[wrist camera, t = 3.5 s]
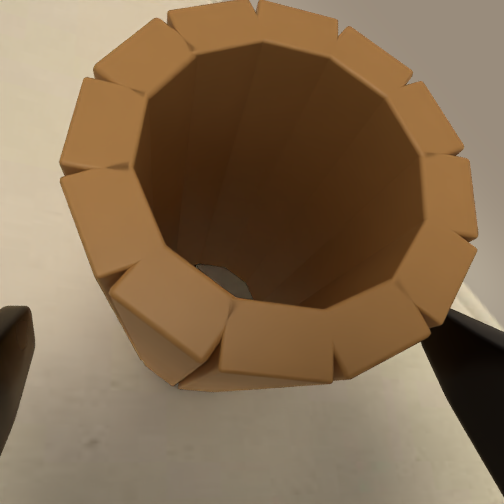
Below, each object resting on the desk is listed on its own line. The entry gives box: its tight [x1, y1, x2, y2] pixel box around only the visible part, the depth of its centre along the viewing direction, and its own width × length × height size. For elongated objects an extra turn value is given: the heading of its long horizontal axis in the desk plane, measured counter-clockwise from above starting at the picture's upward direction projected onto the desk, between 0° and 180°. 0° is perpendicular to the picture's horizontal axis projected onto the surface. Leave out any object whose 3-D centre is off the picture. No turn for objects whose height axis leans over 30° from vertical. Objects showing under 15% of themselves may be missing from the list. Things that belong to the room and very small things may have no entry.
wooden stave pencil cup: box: [59, 0, 478, 392], centre depth 12 cm, size 7×7×13 cm
